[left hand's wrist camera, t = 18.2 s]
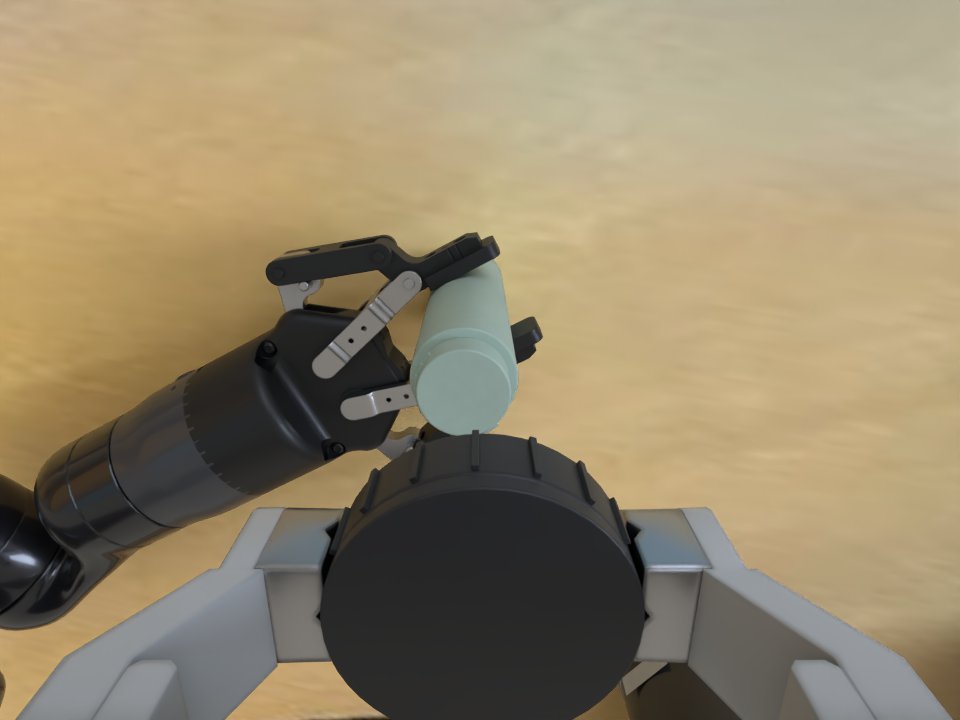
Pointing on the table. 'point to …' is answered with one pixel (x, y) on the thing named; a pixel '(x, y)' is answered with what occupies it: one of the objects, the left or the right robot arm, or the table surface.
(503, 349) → the jar
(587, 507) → the lid
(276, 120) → the table surface
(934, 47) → the table surface
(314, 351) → the right robot arm
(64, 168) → the table surface
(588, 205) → the table surface
